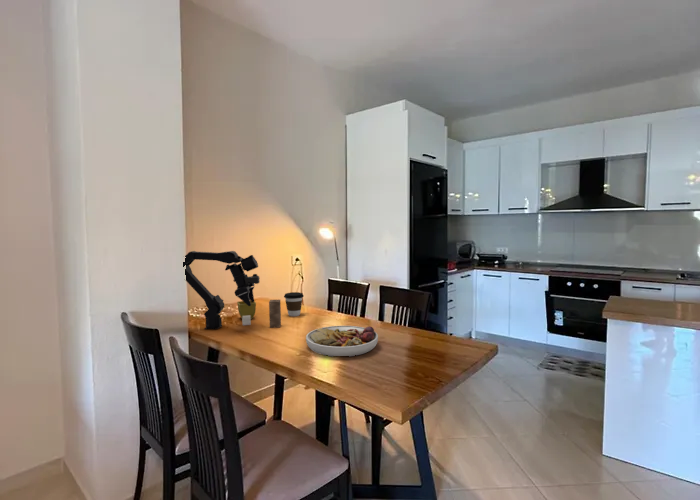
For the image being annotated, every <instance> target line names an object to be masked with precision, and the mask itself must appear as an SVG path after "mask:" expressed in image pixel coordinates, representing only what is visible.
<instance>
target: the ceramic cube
mask: <svg viewBox="0 0 700 500" xmlns="http://www.w3.org/2000/svg"><path fill="white" fill-rule="evenodd" d="M241 319H242V320H241V321H242V322H241V324H242V326H251V324H252V323H251V321H252V319H251V315H248V316H242V318H241Z"/></svg>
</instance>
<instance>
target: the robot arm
mask: <svg viewBox="0 0 700 500" xmlns="http://www.w3.org/2000/svg"><path fill="white" fill-rule="evenodd" d="M184 256H185V257H186V258H185V262H183V267H184V266H185V265H186V269H185V275H186V280H185V281H186V282H187V284H188V285H189V286H190V287H191V288H192V289H193V290H194V291H195V292H196V294H198V296H200V297H201V299H202V300H203V301H204V303H205V305H206V308H207V310H206V311H205V312H204V313H203V315H204V317H205V327H204V330H218V329H220V328H221V327H222V326H223V323H222V317H221V312H222V311H223V309H224V308H225V302H224V299H222V298H221V297H220V295H219V294H216V295H214V294H212V293H211V292H210V291H209V290H208V288H207V287H206V286H205V284H203V283H202V282H201V281H200V280H199V279H198V278H197V276H196V275H195V274H194V273H193V271H192V268H191V266H190V265H192V264H193V262H194V261H195V260H201V261H215V262H217V261H218V262H220V263H223V264H224V263H225V264H227V265H226V266H225V269H224V271H228V270H229V271H230V273H231V275H232V278H233V282H234V283H235V285H236V289H235V290H234V295H235V297H236V298H238V299H240V301H243V302H245V303H246V304H247V305H248V306H251V303H250V300H251V301H252V302H255V297H254V289H255V284H257V285H258V284H260V275H258V273H253V274H252V276H251V275H250V276H248V274H246V273H245V271H246V272H247V273H248V272H251V271H253V270H255V269H257V268H259V263H258V261H257V259H256V257H254V255H253V254H250V255H248V256H247V257H242V256H240V255H239V254H238V253H237V252H236V251H234V250H230V251H222V252H213V251H211V252H209V251H207V252H206V251H195V250H192V251H191V250H190V251H189V252H188V253H187V254H185V255H184Z"/></svg>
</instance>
